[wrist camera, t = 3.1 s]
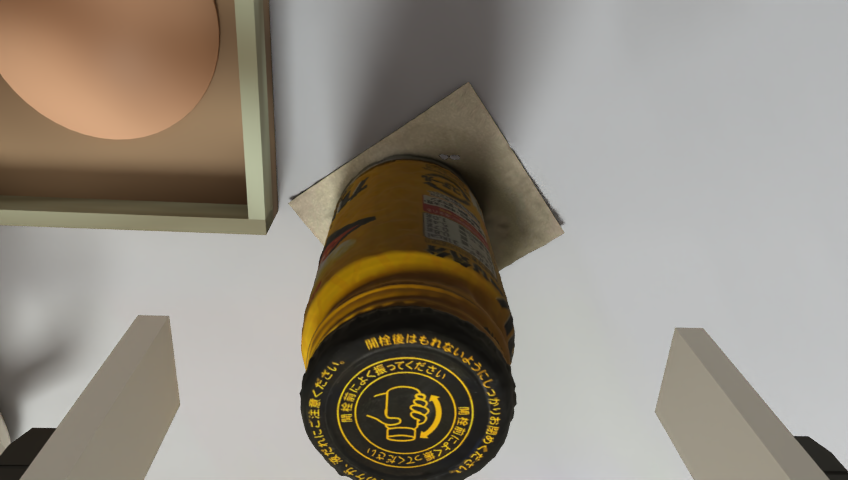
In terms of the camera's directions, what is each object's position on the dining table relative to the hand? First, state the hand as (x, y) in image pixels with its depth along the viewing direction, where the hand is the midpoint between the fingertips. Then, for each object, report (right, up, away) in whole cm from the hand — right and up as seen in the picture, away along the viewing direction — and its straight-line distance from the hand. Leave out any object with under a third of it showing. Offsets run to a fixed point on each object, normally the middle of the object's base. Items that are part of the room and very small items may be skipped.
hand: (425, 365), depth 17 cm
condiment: (0, +4, +9) cm, 10 cm away
